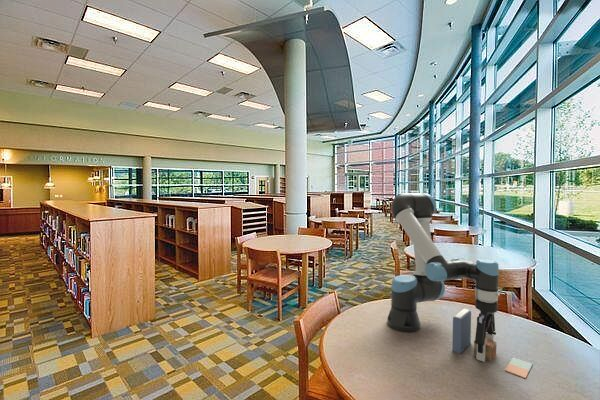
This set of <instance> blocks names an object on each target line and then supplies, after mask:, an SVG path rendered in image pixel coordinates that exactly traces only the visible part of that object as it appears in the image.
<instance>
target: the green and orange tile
mask: <svg viewBox="0 0 600 400" xmlns="http://www.w3.org/2000/svg"><path fill="white" fill-rule="evenodd" d="M504 371H505V372H507V373H509V374H512V375H515V376H517V377H519V378H522V379H524V380H525V379H527V376H528V375H529V372H530V371H529V370H526V369H524V368H521V367H518V366H515V365H513V364H510V362H509V363H508V364H507V366H506V368H505V369H504Z"/></svg>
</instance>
